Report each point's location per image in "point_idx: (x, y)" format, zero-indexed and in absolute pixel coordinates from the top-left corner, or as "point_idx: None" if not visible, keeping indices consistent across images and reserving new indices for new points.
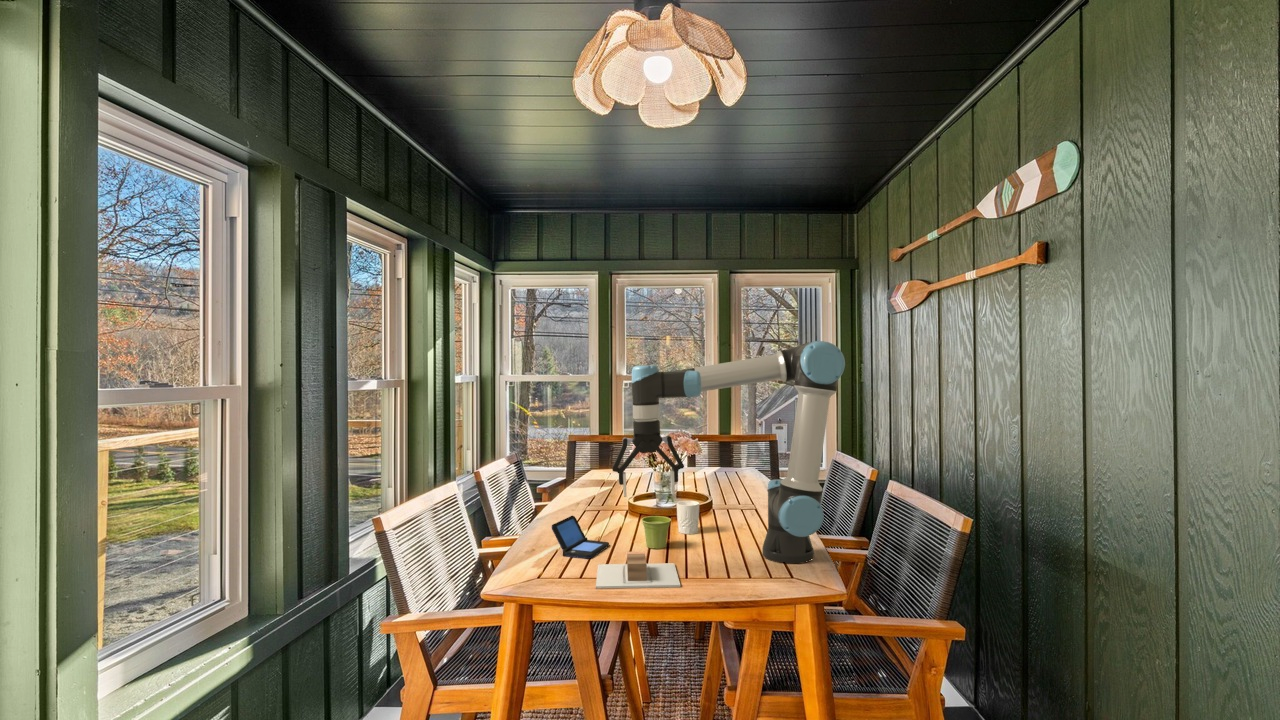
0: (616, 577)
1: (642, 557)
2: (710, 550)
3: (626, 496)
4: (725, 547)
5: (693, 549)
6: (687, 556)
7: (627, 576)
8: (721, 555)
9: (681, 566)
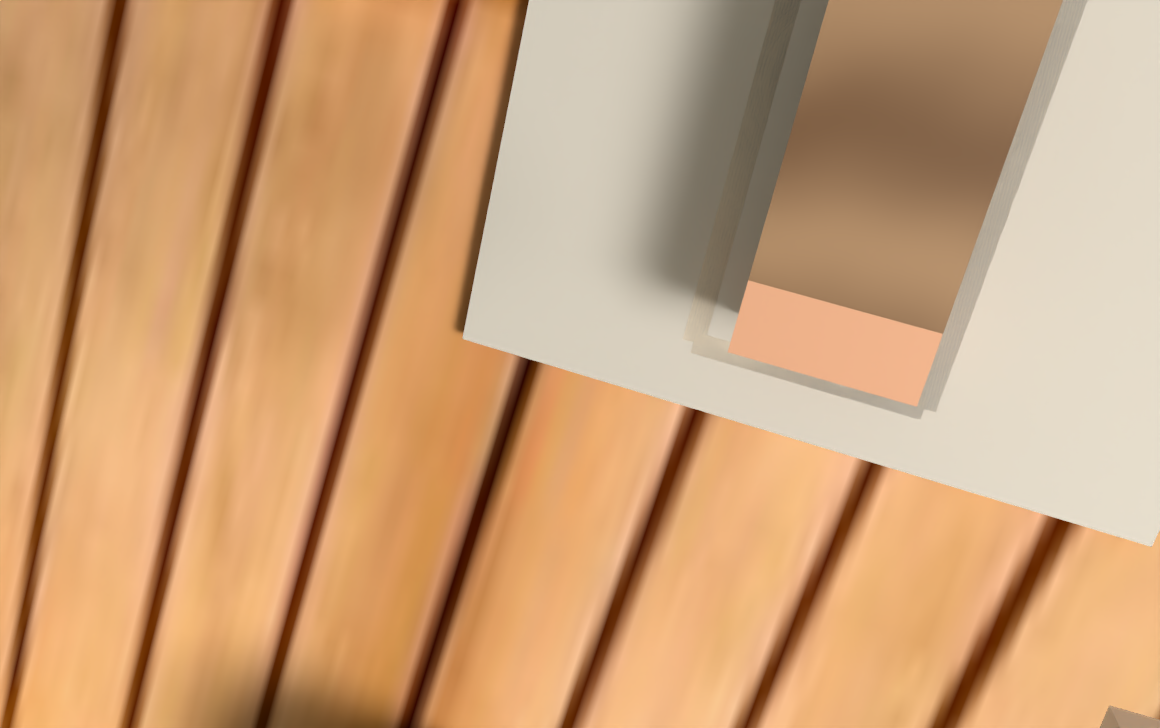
0: (1116, 114)
1: (821, 153)
2: (117, 570)
3: (1114, 717)
4: (5, 591)
5: (226, 640)
6: (310, 505)
7: None
8: (69, 434)
9: (420, 289)
